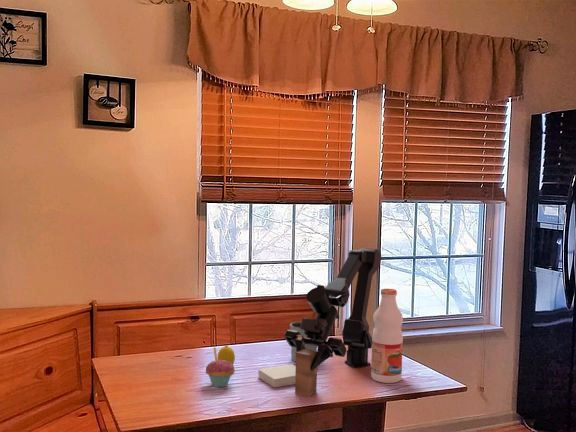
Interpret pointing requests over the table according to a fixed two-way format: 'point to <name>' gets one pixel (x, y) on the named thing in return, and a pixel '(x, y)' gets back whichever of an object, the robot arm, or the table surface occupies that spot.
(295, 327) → the grey cup
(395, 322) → the fruit juice
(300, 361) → the brown wooden block
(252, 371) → the table surface
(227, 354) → the lemon
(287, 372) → the plate
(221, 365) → the cupcake
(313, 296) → the robot arm
